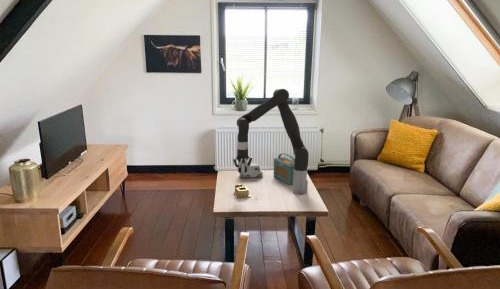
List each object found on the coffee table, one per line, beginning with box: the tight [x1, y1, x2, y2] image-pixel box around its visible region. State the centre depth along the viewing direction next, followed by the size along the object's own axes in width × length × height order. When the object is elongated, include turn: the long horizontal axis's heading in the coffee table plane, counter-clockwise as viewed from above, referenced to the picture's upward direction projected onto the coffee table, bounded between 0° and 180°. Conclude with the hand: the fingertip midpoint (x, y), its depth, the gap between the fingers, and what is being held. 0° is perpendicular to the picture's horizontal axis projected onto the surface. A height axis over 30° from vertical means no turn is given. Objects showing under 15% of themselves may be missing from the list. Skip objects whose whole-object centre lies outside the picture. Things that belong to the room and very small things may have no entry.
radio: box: [273, 153, 295, 186], centre depth 284 cm, size 26×11×20 cm, turn 26°
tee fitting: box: [233, 183, 252, 200], centre depth 254 cm, size 9×13×5 cm
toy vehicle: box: [238, 162, 264, 179], centre depth 292 cm, size 9×18×10 cm, turn 103°
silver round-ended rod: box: [239, 163, 246, 179], centre depth 248 cm, size 3×3×10 cm
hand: (242, 172), depth 249 cm, fingers closed on silver round-ended rod, 3 cm apart
